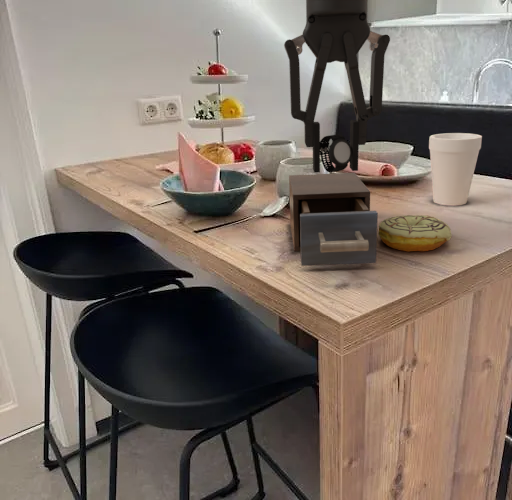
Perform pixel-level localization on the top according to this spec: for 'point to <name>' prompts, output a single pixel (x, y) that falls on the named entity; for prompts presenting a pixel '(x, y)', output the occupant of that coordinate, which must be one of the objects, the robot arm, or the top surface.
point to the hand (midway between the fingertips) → (335, 169)
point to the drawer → (337, 232)
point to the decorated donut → (414, 232)
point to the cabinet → (322, 194)
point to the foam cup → (453, 166)
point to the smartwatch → (335, 153)
